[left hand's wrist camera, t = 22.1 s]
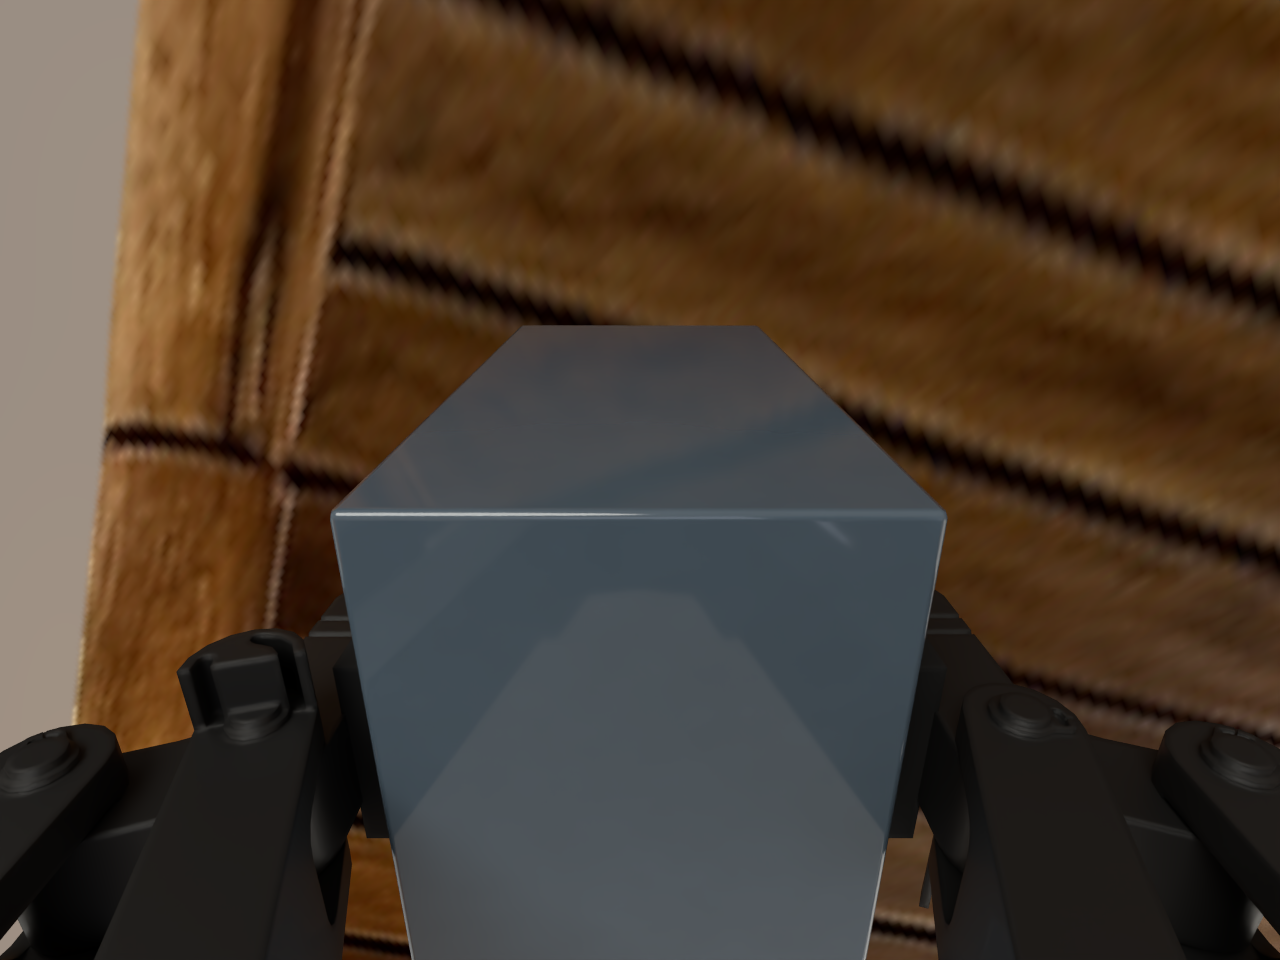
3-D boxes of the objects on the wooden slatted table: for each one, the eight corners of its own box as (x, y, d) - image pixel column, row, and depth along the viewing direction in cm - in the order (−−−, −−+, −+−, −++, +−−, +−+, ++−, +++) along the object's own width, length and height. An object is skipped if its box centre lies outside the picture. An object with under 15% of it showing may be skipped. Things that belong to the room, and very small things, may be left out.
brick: (759, 325, 16) (953, 512, 6) (741, 606, 19) (853, 1045, 9) (520, 325, 16) (324, 511, 6) (538, 605, 19) (424, 1044, 9)
